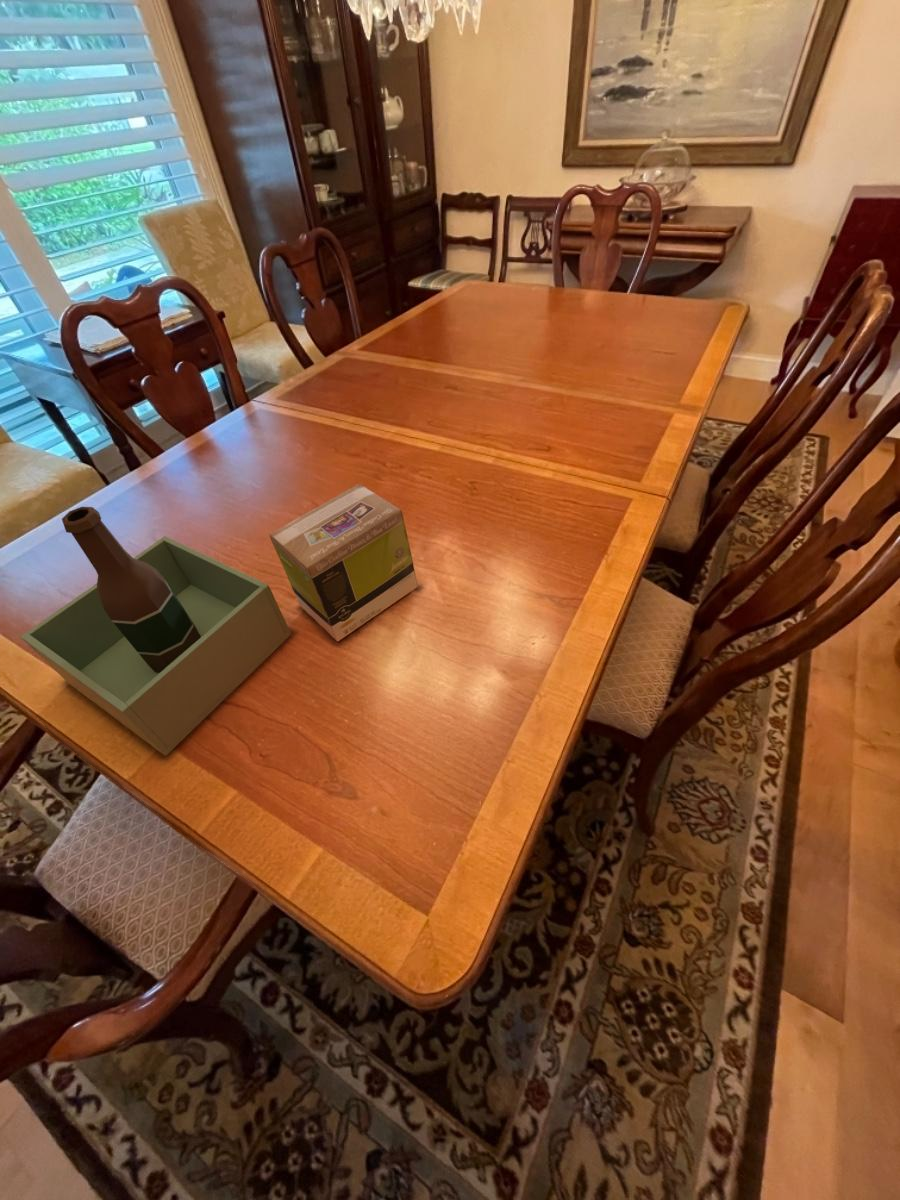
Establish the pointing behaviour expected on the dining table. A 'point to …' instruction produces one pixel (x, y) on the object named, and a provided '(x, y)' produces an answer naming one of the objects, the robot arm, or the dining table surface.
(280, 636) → the open storage bin
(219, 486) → the dining table surface
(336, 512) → the tea box
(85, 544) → the beer bottle
